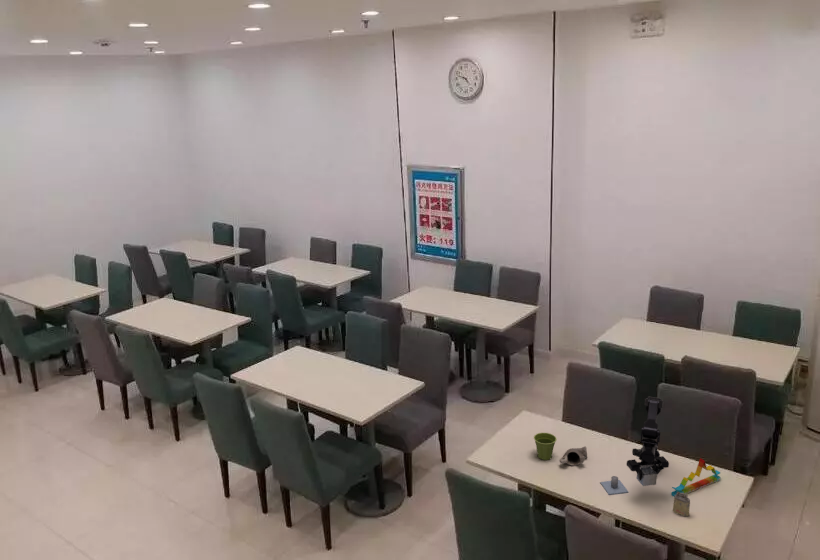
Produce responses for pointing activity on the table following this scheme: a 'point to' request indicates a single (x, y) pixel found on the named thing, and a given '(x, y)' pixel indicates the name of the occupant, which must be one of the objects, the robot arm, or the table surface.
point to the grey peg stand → (614, 486)
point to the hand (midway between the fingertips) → (646, 479)
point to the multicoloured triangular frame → (699, 484)
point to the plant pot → (544, 445)
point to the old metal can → (681, 504)
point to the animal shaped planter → (574, 456)
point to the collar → (648, 476)
